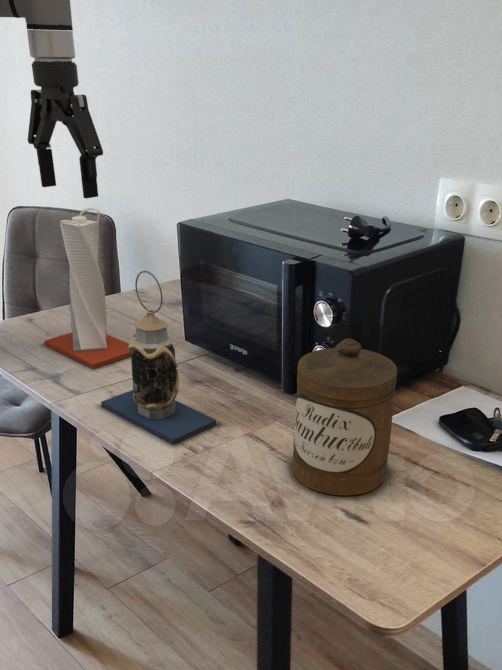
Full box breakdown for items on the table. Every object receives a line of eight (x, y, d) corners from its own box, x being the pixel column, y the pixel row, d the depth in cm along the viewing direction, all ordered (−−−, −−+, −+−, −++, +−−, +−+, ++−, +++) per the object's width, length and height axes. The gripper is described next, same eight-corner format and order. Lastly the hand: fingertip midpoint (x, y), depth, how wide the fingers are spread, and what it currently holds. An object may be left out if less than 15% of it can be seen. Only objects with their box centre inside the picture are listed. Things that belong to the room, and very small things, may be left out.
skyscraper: (112, 337, 155) (98, 203, 140) (115, 351, 149) (100, 212, 134) (72, 340, 153) (54, 205, 138) (74, 354, 147) (55, 214, 132)
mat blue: (101, 406, 129) (101, 401, 129) (144, 390, 135) (144, 385, 135) (173, 444, 118) (173, 439, 117) (216, 424, 124) (216, 419, 124)
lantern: (124, 409, 126) (110, 270, 113) (159, 395, 131) (150, 260, 118) (155, 426, 121) (145, 282, 108) (190, 411, 126) (184, 271, 113)
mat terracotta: (44, 344, 153) (43, 340, 153) (90, 331, 161) (90, 326, 160) (93, 368, 143) (93, 364, 143) (140, 352, 151) (139, 348, 150)
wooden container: (275, 478, 110) (280, 345, 98) (318, 439, 121) (327, 315, 109) (362, 507, 104) (378, 369, 92) (399, 463, 114) (418, 335, 103)
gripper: (116, 63, 116) (126, 199, 127) (33, 57, 130) (49, 179, 141) (77, 64, 111) (92, 205, 123) (-5, 57, 125) (15, 184, 137)
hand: (69, 191), depth 132 cm, fingers open, 13 cm apart
